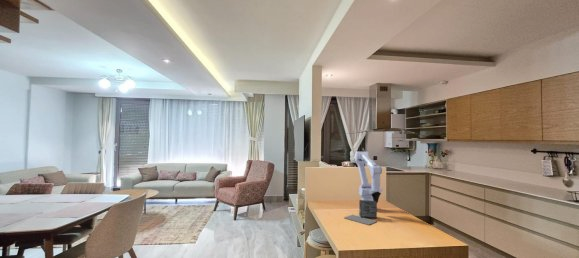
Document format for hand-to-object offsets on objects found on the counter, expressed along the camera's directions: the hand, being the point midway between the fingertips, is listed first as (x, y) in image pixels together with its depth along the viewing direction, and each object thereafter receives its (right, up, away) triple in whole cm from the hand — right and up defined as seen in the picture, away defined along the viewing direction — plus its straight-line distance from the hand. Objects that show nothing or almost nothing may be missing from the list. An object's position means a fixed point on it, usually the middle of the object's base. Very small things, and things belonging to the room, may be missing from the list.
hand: (375, 202), depth 177 cm
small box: (-8, -7, -8) cm, 13 cm away
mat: (-15, -7, -14) cm, 22 cm away
